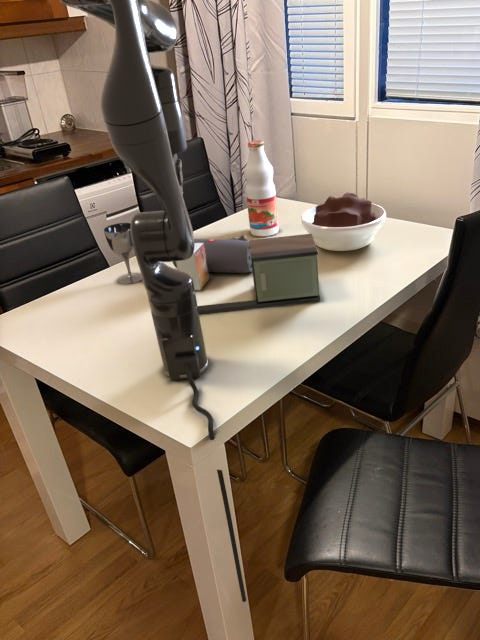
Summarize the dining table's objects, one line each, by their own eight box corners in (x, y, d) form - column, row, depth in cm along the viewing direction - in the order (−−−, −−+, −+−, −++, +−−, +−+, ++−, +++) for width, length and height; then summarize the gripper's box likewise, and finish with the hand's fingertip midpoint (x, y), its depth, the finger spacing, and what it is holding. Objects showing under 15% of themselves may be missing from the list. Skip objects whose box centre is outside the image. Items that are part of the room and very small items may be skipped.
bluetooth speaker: (256, 233, 165) (244, 246, 157) (260, 265, 170) (248, 279, 162) (183, 231, 171) (167, 244, 163) (188, 262, 176) (173, 275, 168)
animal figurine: (260, 239, 177) (250, 249, 175) (264, 250, 181) (254, 260, 179) (231, 229, 183) (221, 239, 181) (235, 240, 187) (225, 250, 185)
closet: (319, 296, 149) (316, 247, 142) (256, 303, 149) (250, 254, 142) (314, 280, 158) (311, 233, 150) (254, 287, 157) (249, 240, 150)
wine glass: (111, 282, 167) (97, 231, 159) (129, 271, 173) (117, 221, 165) (132, 286, 164) (120, 233, 156) (150, 275, 170) (139, 224, 162)
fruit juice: (284, 228, 195) (276, 138, 179) (270, 238, 188) (261, 145, 172) (259, 226, 199) (250, 138, 183) (245, 235, 192) (234, 144, 176)
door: (318, 296, 146) (316, 255, 140) (258, 302, 146) (253, 262, 140) (317, 292, 148) (315, 252, 142) (257, 299, 148) (253, 259, 142)
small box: (200, 291, 158) (194, 253, 152) (181, 290, 159) (173, 253, 153) (210, 278, 164) (204, 242, 158) (191, 278, 165) (184, 242, 160)
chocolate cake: (294, 260, 171) (290, 208, 163) (311, 230, 191) (309, 183, 183) (381, 261, 165) (381, 207, 157) (389, 230, 185) (390, 181, 177)
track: (320, 301, 147) (318, 251, 140) (192, 315, 146) (183, 265, 139) (319, 296, 149) (316, 247, 142) (193, 310, 148) (184, 261, 141)
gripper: (149, 123, 123) (165, 206, 132) (141, 134, 112) (159, 224, 121) (185, 119, 123) (198, 202, 133) (181, 131, 112) (195, 220, 122)
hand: (179, 213), depth 127 cm, fingers closed
